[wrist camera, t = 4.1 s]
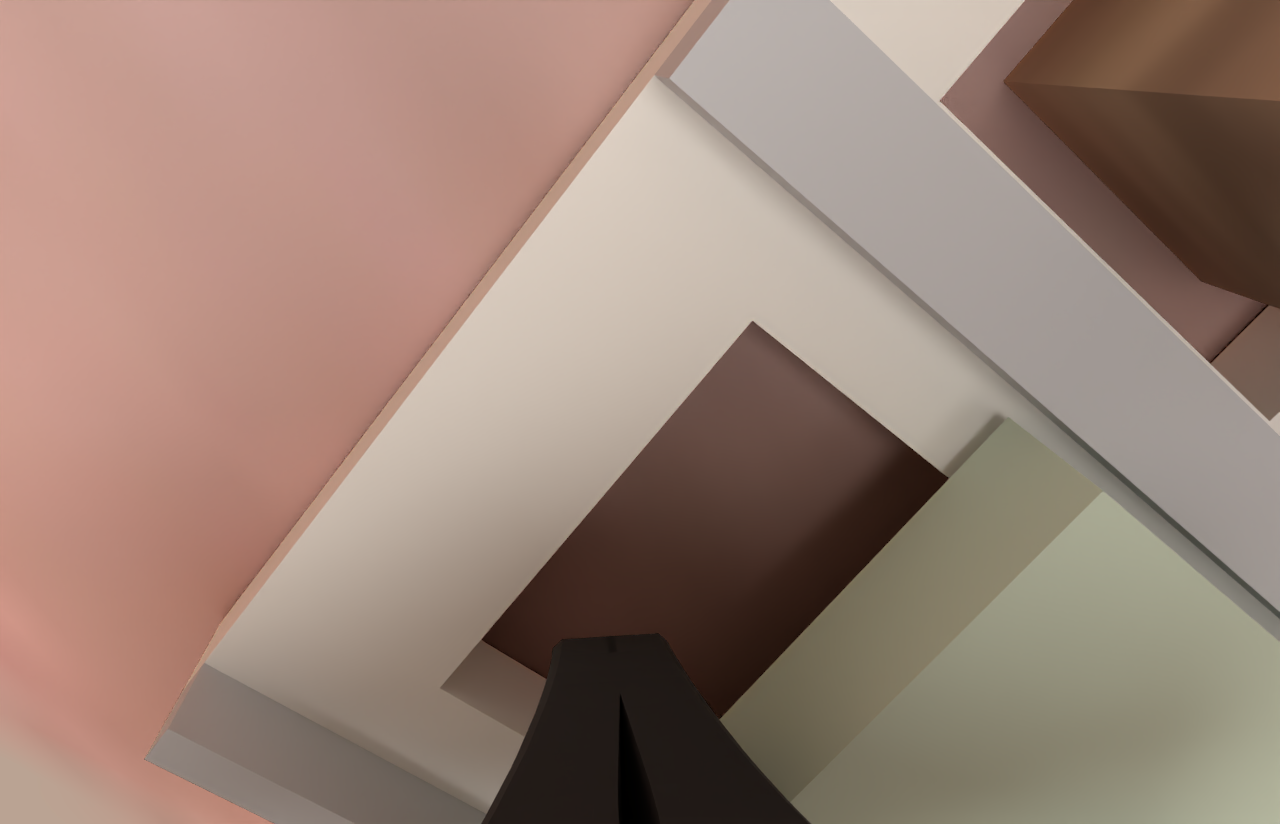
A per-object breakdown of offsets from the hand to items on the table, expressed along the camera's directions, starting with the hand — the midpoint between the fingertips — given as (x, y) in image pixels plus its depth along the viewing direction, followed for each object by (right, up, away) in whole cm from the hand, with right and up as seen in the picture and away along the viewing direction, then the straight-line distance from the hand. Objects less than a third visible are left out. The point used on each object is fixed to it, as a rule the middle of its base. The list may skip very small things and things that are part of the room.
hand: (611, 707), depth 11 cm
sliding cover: (+6, -2, +2) cm, 6 cm away
